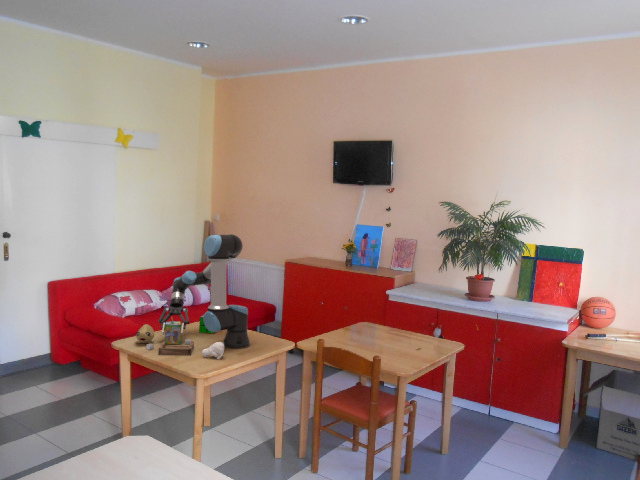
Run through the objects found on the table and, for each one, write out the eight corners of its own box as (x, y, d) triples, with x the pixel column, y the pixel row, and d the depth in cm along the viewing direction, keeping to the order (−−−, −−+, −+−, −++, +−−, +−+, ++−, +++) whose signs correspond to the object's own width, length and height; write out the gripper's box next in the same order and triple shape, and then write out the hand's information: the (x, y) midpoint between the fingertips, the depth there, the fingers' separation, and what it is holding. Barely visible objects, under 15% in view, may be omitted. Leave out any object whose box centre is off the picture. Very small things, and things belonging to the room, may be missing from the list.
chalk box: (181, 344, 304) (181, 319, 303) (164, 344, 302) (165, 319, 300) (181, 340, 313) (181, 315, 312) (164, 340, 311) (165, 315, 309)
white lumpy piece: (222, 343, 280) (200, 344, 280) (223, 359, 281) (201, 360, 281) (224, 340, 286) (202, 341, 286) (225, 355, 287) (203, 356, 287)
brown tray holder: (163, 346, 298) (163, 341, 298) (193, 347, 300) (194, 341, 300) (158, 354, 283) (158, 348, 283) (190, 355, 285) (190, 349, 285)
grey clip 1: (150, 348, 295) (151, 343, 294) (154, 349, 293) (154, 344, 293) (146, 349, 292) (146, 344, 292) (149, 350, 290) (149, 345, 290)
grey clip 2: (190, 343, 307) (190, 339, 307) (190, 344, 304) (190, 340, 304) (185, 343, 307) (185, 339, 307) (184, 344, 304) (185, 340, 304)
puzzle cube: (219, 330, 340) (219, 314, 339) (214, 334, 330) (215, 318, 329) (204, 328, 341) (204, 313, 340) (199, 332, 331) (199, 317, 330)
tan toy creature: (133, 346, 296) (133, 327, 295) (138, 340, 308) (138, 322, 307) (151, 346, 297) (151, 328, 296) (155, 340, 309) (156, 322, 308)
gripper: (196, 304, 322) (192, 337, 308) (158, 304, 319) (153, 336, 305) (196, 298, 317) (192, 330, 302) (157, 297, 314) (151, 330, 300)
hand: (172, 333), depth 304 cm, fingers closed on chalk box, 10 cm apart
